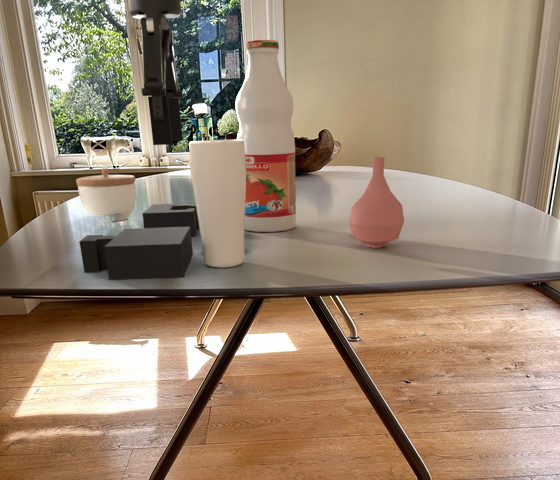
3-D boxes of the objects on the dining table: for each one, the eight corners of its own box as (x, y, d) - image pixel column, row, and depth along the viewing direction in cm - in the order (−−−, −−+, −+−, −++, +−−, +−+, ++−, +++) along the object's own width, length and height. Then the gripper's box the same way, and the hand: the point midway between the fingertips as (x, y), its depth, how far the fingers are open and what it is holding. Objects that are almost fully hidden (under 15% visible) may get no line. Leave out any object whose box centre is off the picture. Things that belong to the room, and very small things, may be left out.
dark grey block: (145, 238, 96) (142, 213, 94) (154, 227, 105) (152, 204, 103) (195, 237, 96) (192, 211, 94) (200, 226, 105) (198, 203, 103)
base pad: (75, 280, 72) (69, 247, 70) (99, 258, 83) (95, 229, 81) (183, 277, 72) (180, 243, 71) (193, 255, 83) (190, 226, 82)
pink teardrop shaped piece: (388, 239, 90) (392, 154, 85) (412, 249, 83) (417, 157, 78) (340, 243, 88) (341, 157, 83) (360, 253, 81) (363, 160, 77)
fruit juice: (307, 226, 102) (306, 40, 91) (269, 235, 96) (263, 36, 84) (267, 221, 108) (262, 46, 97) (229, 229, 102) (218, 42, 90)
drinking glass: (190, 262, 79) (180, 141, 73) (236, 255, 82) (230, 139, 76) (210, 272, 74) (201, 143, 68) (259, 265, 77) (254, 140, 71)
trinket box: (111, 214, 121) (104, 165, 118) (151, 217, 116) (145, 166, 113) (70, 222, 113) (61, 170, 109) (111, 226, 108) (104, 171, 104)
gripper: (167, -36, 75) (184, 145, 83) (188, -1, 97) (199, 138, 106) (106, -34, 74) (130, 147, 83) (142, 0, 97) (157, 140, 106)
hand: (169, 142), depth 94 cm, fingers open, 13 cm apart
